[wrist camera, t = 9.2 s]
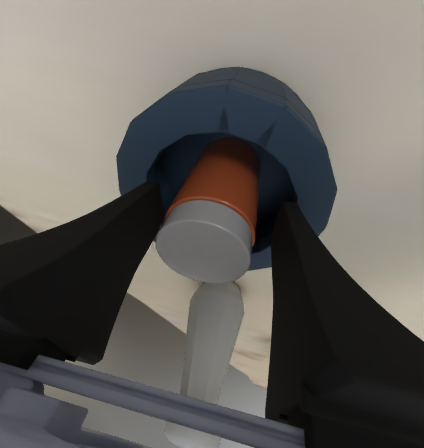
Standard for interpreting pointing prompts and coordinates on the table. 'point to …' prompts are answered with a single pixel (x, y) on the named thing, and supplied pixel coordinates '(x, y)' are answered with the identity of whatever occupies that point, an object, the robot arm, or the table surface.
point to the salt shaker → (207, 354)
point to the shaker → (214, 214)
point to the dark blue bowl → (240, 129)
